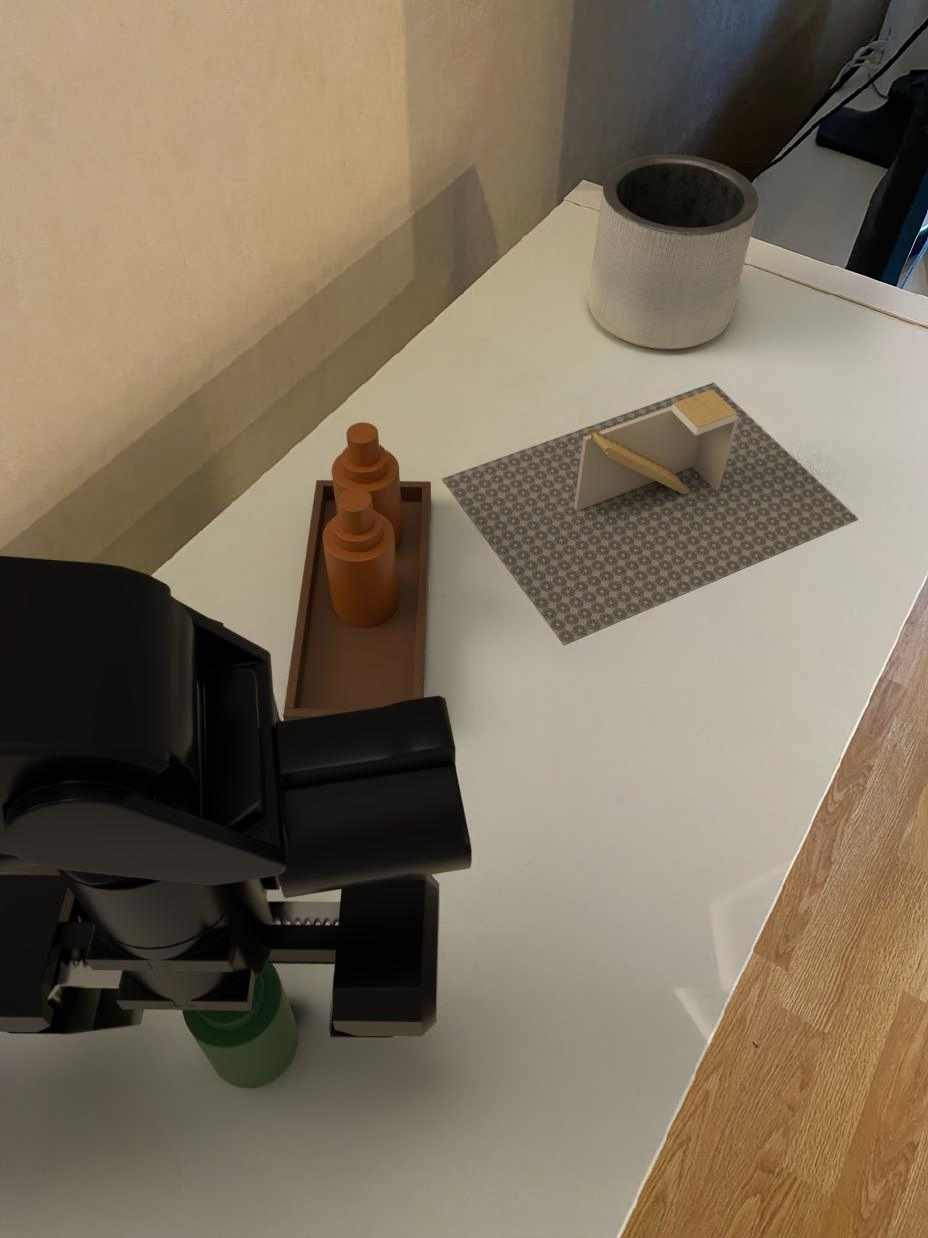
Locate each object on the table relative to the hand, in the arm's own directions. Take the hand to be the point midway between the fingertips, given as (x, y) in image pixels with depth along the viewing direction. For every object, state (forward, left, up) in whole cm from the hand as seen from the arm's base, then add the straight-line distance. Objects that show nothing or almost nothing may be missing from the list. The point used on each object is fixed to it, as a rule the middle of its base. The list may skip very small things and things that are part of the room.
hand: (238, 1014), depth 47 cm
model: (+39, +23, -4) cm, 45 cm away
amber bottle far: (+19, +28, -4) cm, 34 cm away
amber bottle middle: (+16, +23, -4) cm, 28 cm away
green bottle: (0, 0, -4) cm, 4 cm away
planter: (+53, +42, -4) cm, 68 cm away
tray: (+16, +23, -4) cm, 29 cm away
